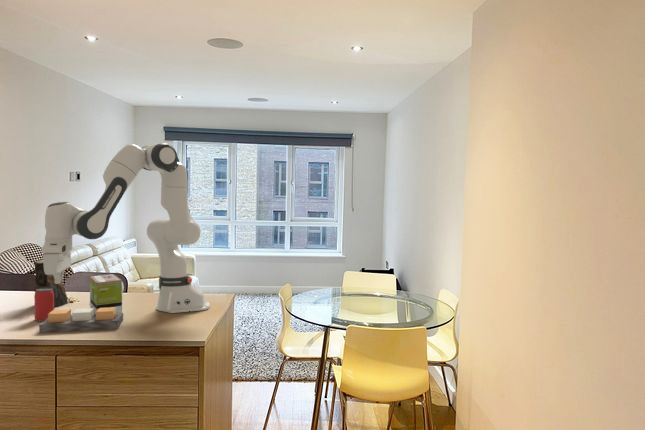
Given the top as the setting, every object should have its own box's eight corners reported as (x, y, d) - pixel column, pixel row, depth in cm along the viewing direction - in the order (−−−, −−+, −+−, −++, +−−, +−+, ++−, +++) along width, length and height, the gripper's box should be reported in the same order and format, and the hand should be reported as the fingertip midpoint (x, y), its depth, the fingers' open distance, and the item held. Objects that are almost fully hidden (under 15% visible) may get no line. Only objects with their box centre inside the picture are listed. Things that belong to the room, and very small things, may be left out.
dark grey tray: (123, 320, 184) (123, 312, 184) (117, 328, 172) (117, 320, 172) (50, 323, 178) (50, 315, 177) (39, 333, 166) (39, 324, 166)
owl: (49, 310, 197) (48, 263, 196) (22, 308, 199) (21, 262, 198) (69, 303, 210) (69, 259, 209) (44, 301, 211) (43, 258, 210)
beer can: (34, 322, 179) (33, 291, 178) (35, 318, 185) (35, 288, 184) (53, 320, 182) (53, 290, 181) (54, 316, 188) (54, 286, 187)
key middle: (93, 316, 179) (93, 308, 178) (90, 321, 173) (90, 312, 173) (76, 317, 177) (76, 308, 177) (72, 322, 171) (72, 312, 171)
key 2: (116, 315, 181) (116, 307, 180) (113, 320, 175) (113, 311, 175) (99, 316, 179) (99, 307, 179) (96, 320, 173) (96, 311, 173)
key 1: (70, 317, 177) (70, 309, 176) (66, 322, 171) (66, 313, 171) (53, 318, 175) (53, 309, 175) (48, 323, 169) (48, 313, 169)
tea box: (89, 310, 198) (89, 275, 198) (114, 306, 204) (114, 273, 204) (96, 318, 186) (96, 281, 186) (122, 314, 192) (122, 279, 192)
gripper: (57, 243, 181) (57, 278, 181) (39, 248, 161) (39, 288, 161) (75, 243, 182) (75, 278, 183) (59, 248, 163) (59, 288, 163)
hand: (58, 283), depth 172 cm, fingers closed
